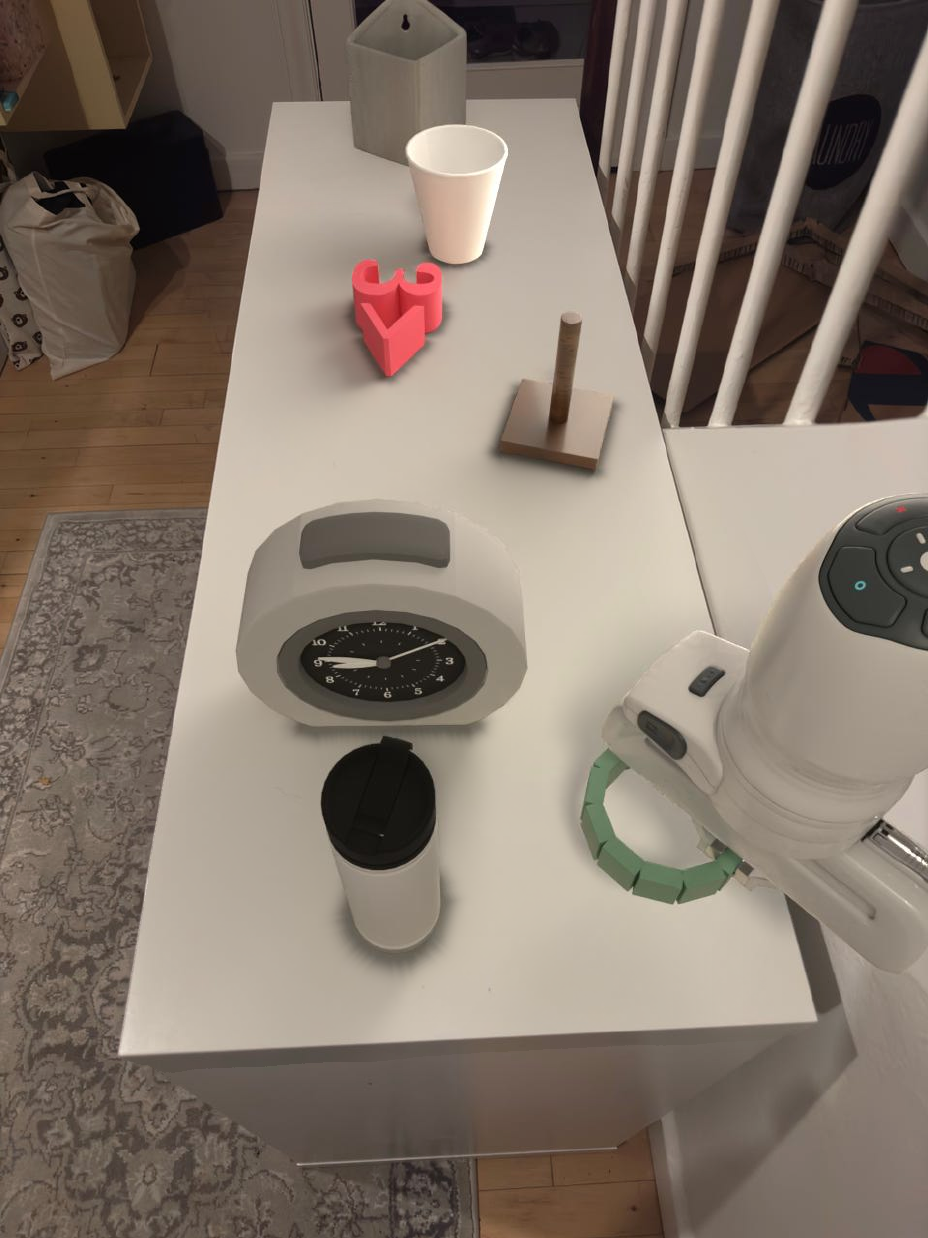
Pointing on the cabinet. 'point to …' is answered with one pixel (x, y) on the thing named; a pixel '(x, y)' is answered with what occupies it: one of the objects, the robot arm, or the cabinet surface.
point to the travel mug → (385, 842)
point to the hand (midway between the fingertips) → (729, 861)
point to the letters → (396, 311)
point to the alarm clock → (382, 618)
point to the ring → (627, 864)
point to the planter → (404, 76)
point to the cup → (456, 187)
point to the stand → (559, 411)
